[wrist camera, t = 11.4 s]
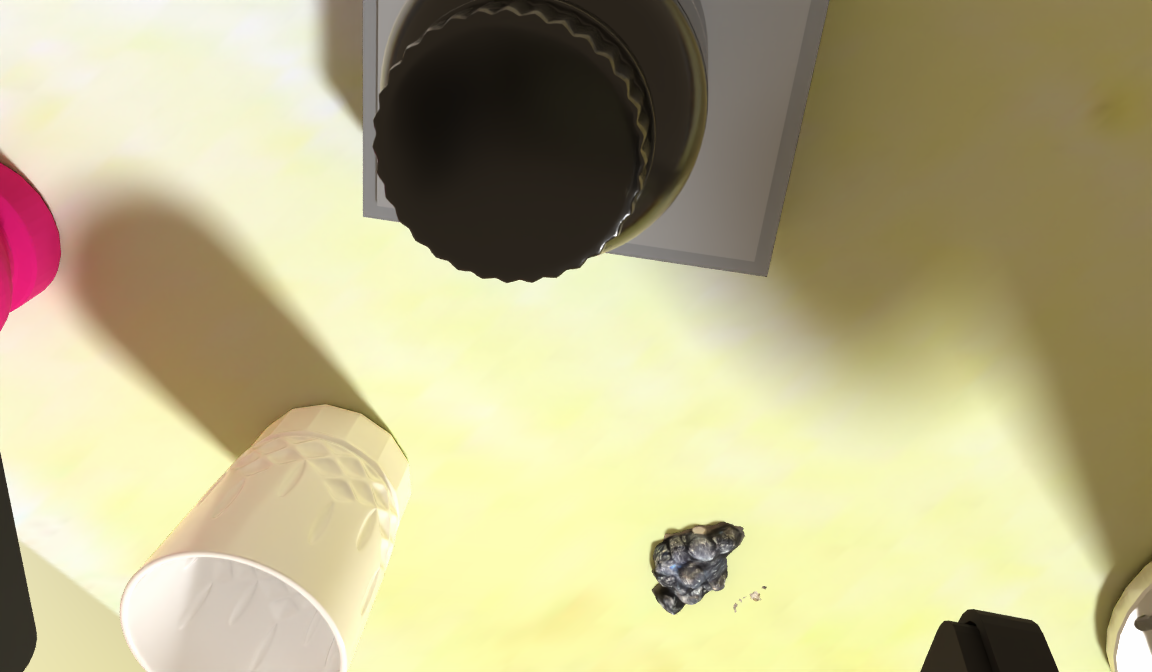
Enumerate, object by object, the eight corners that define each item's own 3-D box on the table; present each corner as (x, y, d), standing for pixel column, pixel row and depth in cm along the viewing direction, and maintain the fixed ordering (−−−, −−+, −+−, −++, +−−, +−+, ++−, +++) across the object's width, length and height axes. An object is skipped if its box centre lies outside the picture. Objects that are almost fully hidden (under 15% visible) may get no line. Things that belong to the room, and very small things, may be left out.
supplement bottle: (760, 23, 26) (801, 139, 15) (604, 204, 29) (547, 408, 18) (564, -150, 24) (458, -158, 14) (421, 57, 27) (242, 184, 17)
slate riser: (852, -193, 27) (875, -199, 23) (760, 230, 33) (767, 278, 29) (406, -246, 27) (360, -260, 24) (399, 177, 33) (361, 218, 30)
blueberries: (812, 523, 39) (818, 550, 38) (731, 656, 43) (733, 687, 41) (665, 464, 39) (665, 488, 37) (594, 603, 42) (590, 632, 40)
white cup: (277, 359, 38) (146, 514, 29) (453, 442, 39) (378, 617, 30) (227, 494, 41) (98, 668, 33) (389, 567, 42) (306, 756, 33)
